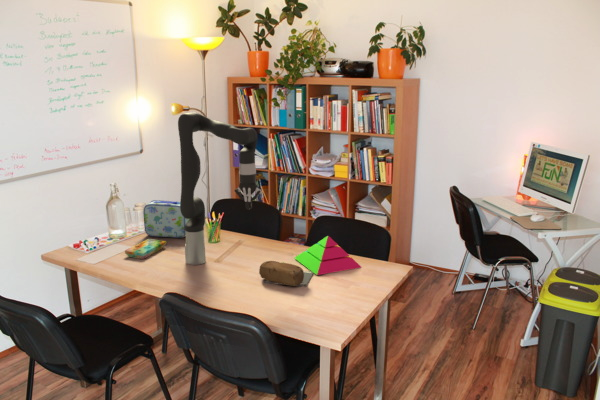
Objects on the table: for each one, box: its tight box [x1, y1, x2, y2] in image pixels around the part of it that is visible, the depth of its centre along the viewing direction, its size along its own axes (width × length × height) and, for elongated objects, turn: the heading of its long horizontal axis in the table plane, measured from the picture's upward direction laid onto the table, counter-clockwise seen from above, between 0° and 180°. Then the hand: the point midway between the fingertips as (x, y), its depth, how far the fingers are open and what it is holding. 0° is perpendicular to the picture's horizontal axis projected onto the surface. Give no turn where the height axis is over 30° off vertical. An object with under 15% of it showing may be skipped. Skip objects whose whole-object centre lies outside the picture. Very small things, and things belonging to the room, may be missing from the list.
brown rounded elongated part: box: [258, 260, 304, 287], centre depth 245 cm, size 11×8×20 cm
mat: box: [263, 270, 314, 288], centre depth 250 cm, size 20×16×1 cm
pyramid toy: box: [294, 235, 362, 276], centre depth 266 cm, size 25×25×14 cm
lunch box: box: [143, 199, 189, 239], centre depth 308 cm, size 26×11×21 cm, turn 81°
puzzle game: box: [124, 238, 167, 260], centre depth 284 cm, size 12×5×20 cm
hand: (248, 209), depth 246 cm, fingers closed
